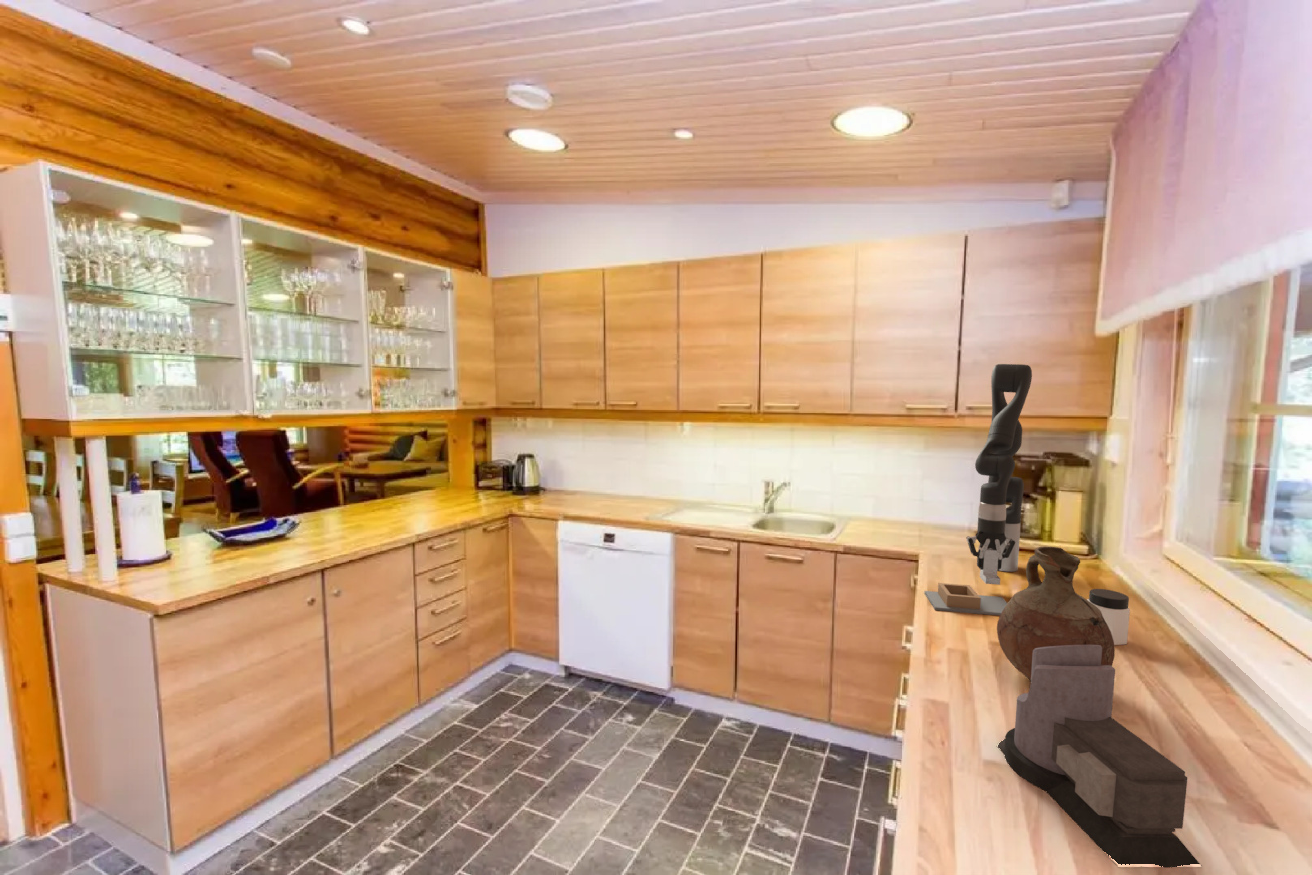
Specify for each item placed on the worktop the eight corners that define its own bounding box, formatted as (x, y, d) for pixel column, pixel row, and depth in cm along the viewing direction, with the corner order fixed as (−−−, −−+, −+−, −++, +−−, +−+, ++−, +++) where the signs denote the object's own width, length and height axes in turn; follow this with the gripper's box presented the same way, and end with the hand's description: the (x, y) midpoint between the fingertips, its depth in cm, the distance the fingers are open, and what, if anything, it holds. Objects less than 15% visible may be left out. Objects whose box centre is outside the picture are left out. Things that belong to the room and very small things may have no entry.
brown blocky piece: (981, 736, 110) (988, 611, 108) (1065, 736, 110) (1075, 611, 108) (1103, 868, 80) (1117, 699, 78) (1219, 868, 80) (1236, 699, 78)
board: (924, 593, 184) (925, 580, 184) (1001, 599, 179) (1002, 586, 179) (934, 609, 171) (935, 596, 170) (1018, 617, 166) (1019, 602, 165)
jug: (1056, 716, 116) (1066, 570, 113) (971, 666, 137) (978, 541, 134) (1136, 701, 122) (1149, 562, 119) (1043, 655, 143) (1052, 535, 140)
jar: (1131, 640, 151) (1134, 595, 150) (1122, 649, 146) (1126, 602, 145) (1089, 628, 158) (1092, 585, 157) (1080, 636, 153) (1083, 592, 152)
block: (979, 577, 188) (981, 546, 186) (993, 577, 187) (995, 547, 185) (985, 583, 182) (987, 552, 181) (999, 584, 181) (1001, 553, 180)
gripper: (1012, 514, 185) (1009, 567, 187) (963, 512, 189) (961, 564, 191) (1021, 520, 178) (1018, 575, 180) (970, 518, 181) (967, 571, 183)
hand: (988, 569), depth 185 cm, fingers closed on block, 4 cm apart
